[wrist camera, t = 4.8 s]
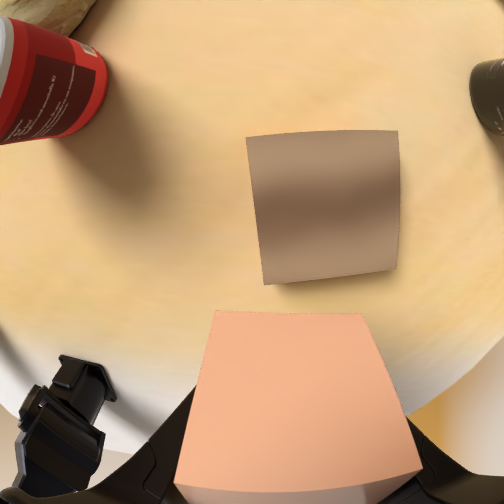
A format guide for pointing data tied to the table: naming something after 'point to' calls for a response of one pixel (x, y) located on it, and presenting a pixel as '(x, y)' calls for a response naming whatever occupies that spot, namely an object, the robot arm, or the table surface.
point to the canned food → (46, 83)
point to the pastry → (48, 13)
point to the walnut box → (325, 203)
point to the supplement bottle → (489, 93)
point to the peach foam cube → (294, 415)
